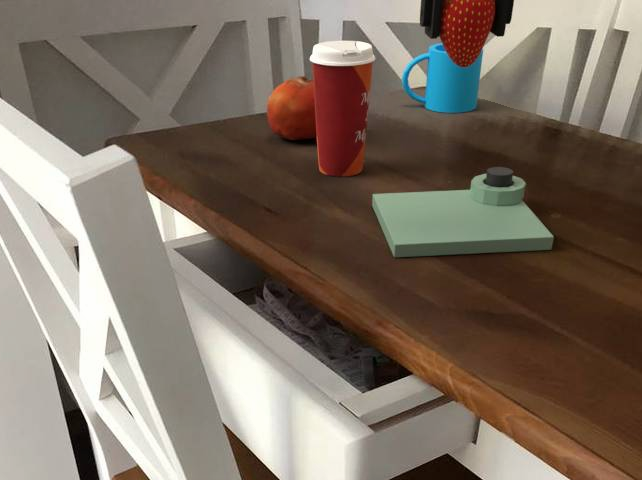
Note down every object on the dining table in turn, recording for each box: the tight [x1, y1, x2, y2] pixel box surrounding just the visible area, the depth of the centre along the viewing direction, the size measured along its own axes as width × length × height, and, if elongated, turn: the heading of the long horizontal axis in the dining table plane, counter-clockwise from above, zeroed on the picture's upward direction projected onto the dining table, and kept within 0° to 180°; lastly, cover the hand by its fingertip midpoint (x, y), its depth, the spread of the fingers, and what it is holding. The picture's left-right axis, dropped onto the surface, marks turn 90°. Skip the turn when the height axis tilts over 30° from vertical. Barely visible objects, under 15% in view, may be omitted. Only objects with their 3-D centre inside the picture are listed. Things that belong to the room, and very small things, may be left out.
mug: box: [401, 43, 484, 114], centre depth 114 cm, size 12×8×8 cm
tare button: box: [485, 166, 514, 188], centre depth 80 cm, size 3×3×2 cm
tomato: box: [266, 75, 317, 141], centre depth 102 cm, size 9×9×8 cm
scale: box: [371, 173, 555, 258], centre depth 78 cm, size 16×14×3 cm
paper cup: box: [309, 40, 377, 178], centre depth 89 cm, size 8×8×14 cm
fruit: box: [439, 0, 496, 67], centre depth 66 cm, size 5×5×8 cm
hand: (463, 32), depth 66 cm, fingers closed on fruit, 5 cm apart
